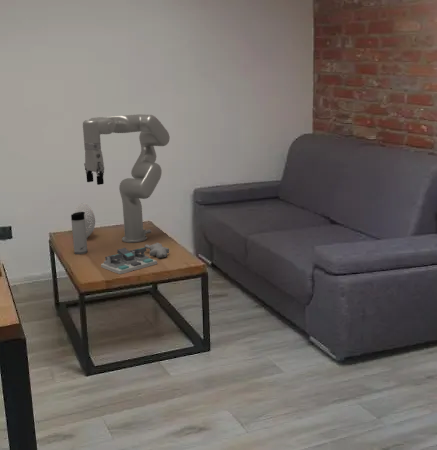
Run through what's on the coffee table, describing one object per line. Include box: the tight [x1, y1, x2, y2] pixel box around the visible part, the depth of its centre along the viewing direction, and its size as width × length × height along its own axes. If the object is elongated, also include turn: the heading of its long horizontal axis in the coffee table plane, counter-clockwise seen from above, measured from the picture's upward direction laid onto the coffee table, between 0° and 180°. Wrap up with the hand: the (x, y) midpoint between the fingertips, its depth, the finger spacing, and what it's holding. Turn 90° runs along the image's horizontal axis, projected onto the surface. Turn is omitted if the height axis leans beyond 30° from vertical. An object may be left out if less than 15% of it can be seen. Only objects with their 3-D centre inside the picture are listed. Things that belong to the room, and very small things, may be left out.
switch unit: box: [100, 251, 158, 275], centre depth 310 cm, size 20×15×5 cm
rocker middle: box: [116, 247, 135, 260], centre depth 311 cm, size 4×8×2 cm, turn 41°
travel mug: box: [70, 211, 88, 255], centre depth 332 cm, size 6×7×20 cm
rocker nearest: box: [129, 247, 148, 254], centre depth 315 cm, size 4×8×2 cm, turn 41°
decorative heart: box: [74, 202, 96, 240], centre depth 360 cm, size 18×11×17 cm, turn 15°
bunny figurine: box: [143, 242, 170, 259], centre depth 325 cm, size 10×5×15 cm
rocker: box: [104, 253, 122, 261], centre depth 307 cm, size 4×8×2 cm, turn 41°
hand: (95, 183), depth 326 cm, fingers open, 9 cm apart
